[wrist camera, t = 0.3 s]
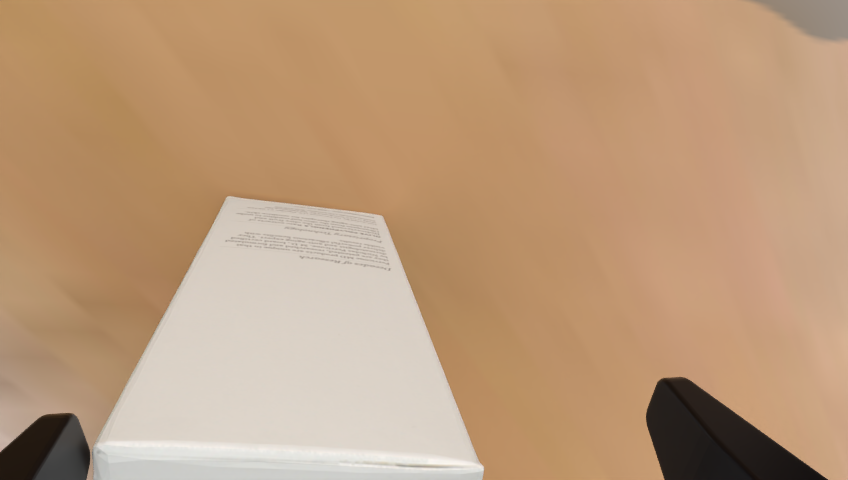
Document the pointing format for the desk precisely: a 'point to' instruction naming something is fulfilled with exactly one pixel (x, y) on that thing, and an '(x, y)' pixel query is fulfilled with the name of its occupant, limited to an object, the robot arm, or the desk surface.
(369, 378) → the skincare box
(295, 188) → the desk surface
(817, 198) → the desk surface
